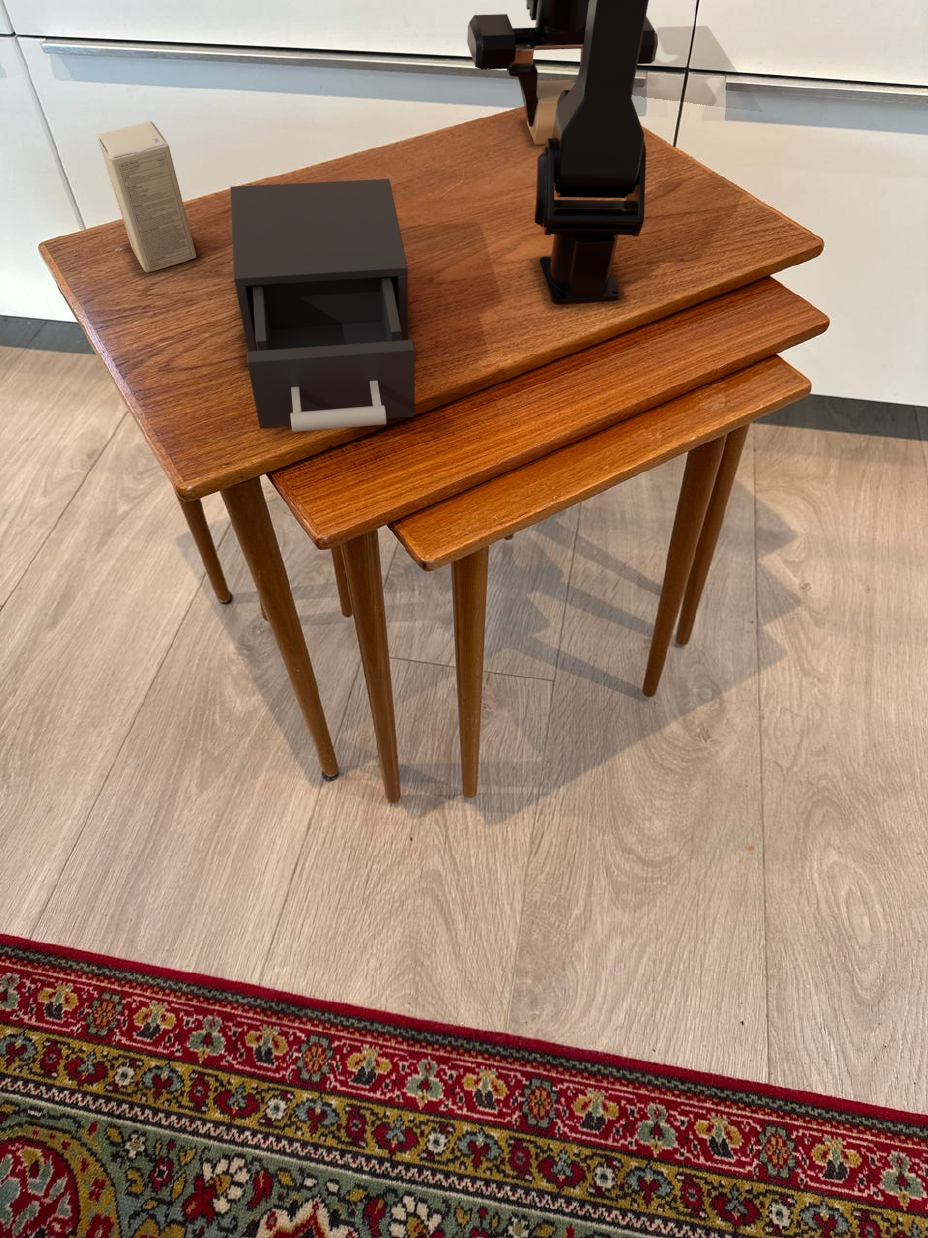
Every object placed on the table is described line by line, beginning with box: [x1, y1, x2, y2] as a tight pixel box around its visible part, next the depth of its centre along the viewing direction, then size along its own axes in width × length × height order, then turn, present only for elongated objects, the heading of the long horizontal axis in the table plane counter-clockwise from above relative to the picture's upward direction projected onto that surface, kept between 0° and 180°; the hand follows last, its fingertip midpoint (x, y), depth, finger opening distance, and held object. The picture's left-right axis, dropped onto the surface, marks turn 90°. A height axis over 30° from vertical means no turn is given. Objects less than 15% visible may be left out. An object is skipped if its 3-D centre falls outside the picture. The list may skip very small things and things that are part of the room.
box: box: [96, 120, 197, 273], centre depth 82 cm, size 5×4×11 cm
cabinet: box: [229, 178, 409, 352], centre depth 79 cm, size 13×14×9 cm
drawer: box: [246, 277, 416, 433], centre depth 73 cm, size 16×12×7 cm
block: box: [526, 79, 575, 146], centre depth 99 cm, size 4×4×4 cm
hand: (551, 123), depth 100 cm, fingers closed on block, 4 cm apart
